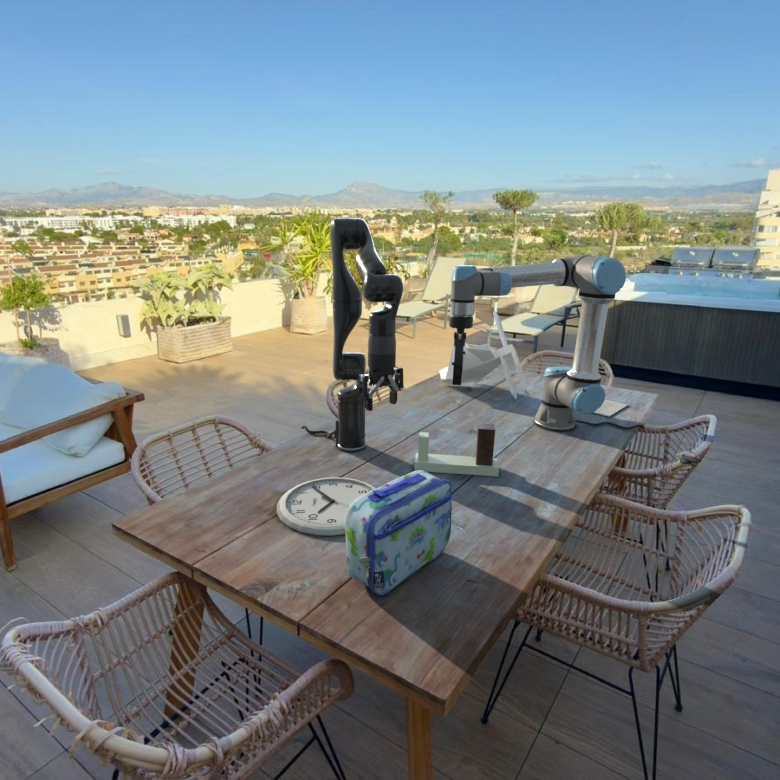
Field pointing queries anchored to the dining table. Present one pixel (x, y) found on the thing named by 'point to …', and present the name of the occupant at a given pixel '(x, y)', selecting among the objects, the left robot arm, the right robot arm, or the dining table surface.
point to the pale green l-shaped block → (450, 462)
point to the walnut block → (485, 444)
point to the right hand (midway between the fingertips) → (457, 379)
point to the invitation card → (609, 408)
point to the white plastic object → (486, 362)
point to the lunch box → (397, 529)
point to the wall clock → (320, 505)
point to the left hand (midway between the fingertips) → (381, 406)
